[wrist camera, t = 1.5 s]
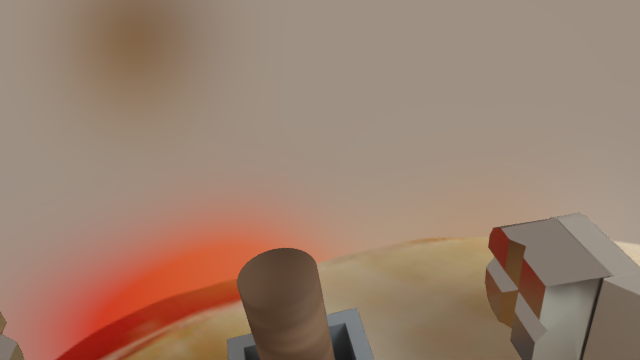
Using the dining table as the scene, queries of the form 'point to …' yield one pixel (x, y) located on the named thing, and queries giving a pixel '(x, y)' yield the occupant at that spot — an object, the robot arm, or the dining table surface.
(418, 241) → the dining table surface
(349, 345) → the grey open-top box
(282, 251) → the walnut dowel
